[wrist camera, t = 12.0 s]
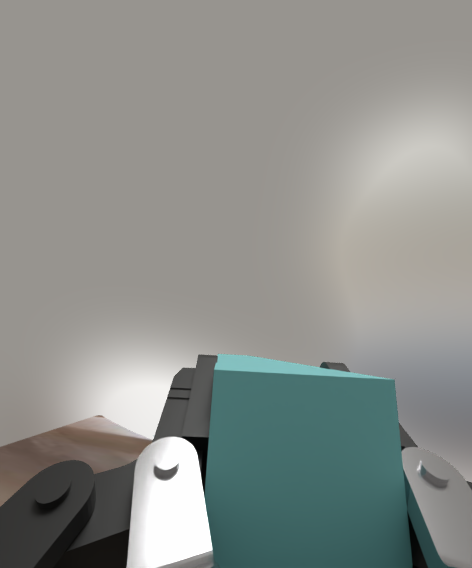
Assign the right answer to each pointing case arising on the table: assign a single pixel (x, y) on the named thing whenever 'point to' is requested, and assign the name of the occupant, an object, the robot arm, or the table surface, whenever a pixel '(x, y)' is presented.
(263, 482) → the block
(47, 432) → the table surface
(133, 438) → the table surface
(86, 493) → the robot arm
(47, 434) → the table surface
